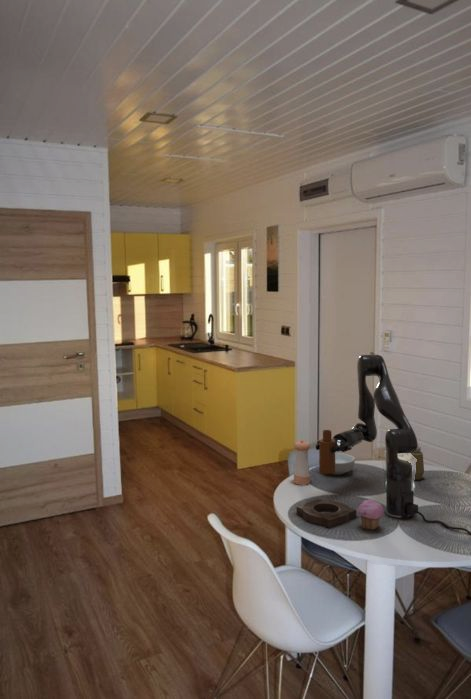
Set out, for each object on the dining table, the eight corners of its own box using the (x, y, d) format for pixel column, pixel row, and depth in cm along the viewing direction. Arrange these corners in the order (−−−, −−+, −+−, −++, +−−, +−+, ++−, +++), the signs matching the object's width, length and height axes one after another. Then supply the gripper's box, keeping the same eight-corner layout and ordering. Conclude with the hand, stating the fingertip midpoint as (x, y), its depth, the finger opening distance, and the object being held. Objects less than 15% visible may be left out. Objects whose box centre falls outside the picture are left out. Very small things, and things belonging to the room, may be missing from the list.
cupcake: (364, 520, 214) (364, 495, 213) (386, 526, 210) (386, 499, 208) (354, 529, 207) (354, 502, 206) (377, 534, 202) (378, 507, 201)
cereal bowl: (347, 480, 259) (347, 464, 259) (313, 474, 268) (312, 459, 267) (359, 469, 274) (359, 455, 273) (327, 464, 282) (327, 450, 282)
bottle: (338, 471, 235) (338, 430, 233) (327, 475, 231) (327, 433, 229) (326, 467, 240) (326, 428, 238) (316, 471, 236) (315, 430, 234)
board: (360, 516, 218) (360, 509, 218) (327, 529, 207) (327, 521, 207) (324, 503, 233) (324, 496, 232) (292, 514, 221) (292, 507, 221)
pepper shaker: (305, 478, 263) (305, 437, 261) (313, 483, 256) (312, 441, 254) (291, 480, 260) (290, 439, 258) (298, 485, 253) (298, 443, 251)
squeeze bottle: (402, 476, 263) (402, 437, 261) (417, 474, 266) (417, 436, 264) (412, 481, 256) (413, 442, 254) (428, 479, 258) (428, 440, 256)
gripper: (331, 429, 249) (309, 437, 237) (360, 434, 240) (339, 442, 227) (331, 445, 250) (309, 454, 238) (360, 451, 240) (339, 461, 228)
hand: (324, 448), depth 233 cm, fingers closed on bottle, 6 cm apart
